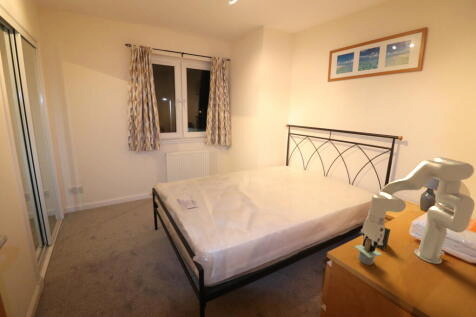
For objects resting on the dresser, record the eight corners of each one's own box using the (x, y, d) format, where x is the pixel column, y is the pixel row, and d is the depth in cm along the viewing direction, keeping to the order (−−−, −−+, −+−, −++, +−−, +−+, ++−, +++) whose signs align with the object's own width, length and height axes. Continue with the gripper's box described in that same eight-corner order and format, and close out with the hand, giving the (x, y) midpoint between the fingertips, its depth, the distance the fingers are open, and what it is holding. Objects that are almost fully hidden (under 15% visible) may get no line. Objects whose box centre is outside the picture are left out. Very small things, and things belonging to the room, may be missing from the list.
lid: (366, 244, 130) (368, 234, 128) (381, 255, 121) (384, 244, 120) (354, 247, 126) (356, 236, 125) (369, 258, 118) (372, 246, 116)
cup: (365, 255, 129) (367, 248, 128) (376, 264, 122) (377, 257, 121) (355, 256, 127) (356, 249, 126) (364, 265, 121) (366, 258, 120)
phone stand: (383, 250, 136) (388, 232, 134) (372, 245, 140) (377, 227, 138) (387, 244, 143) (391, 227, 140) (376, 240, 147) (381, 223, 144)
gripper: (395, 226, 112) (386, 258, 116) (369, 210, 128) (362, 239, 132) (383, 226, 110) (374, 259, 114) (358, 211, 126) (351, 240, 130)
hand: (368, 248), depth 123 cm, fingers closed on lid, 4 cm apart
